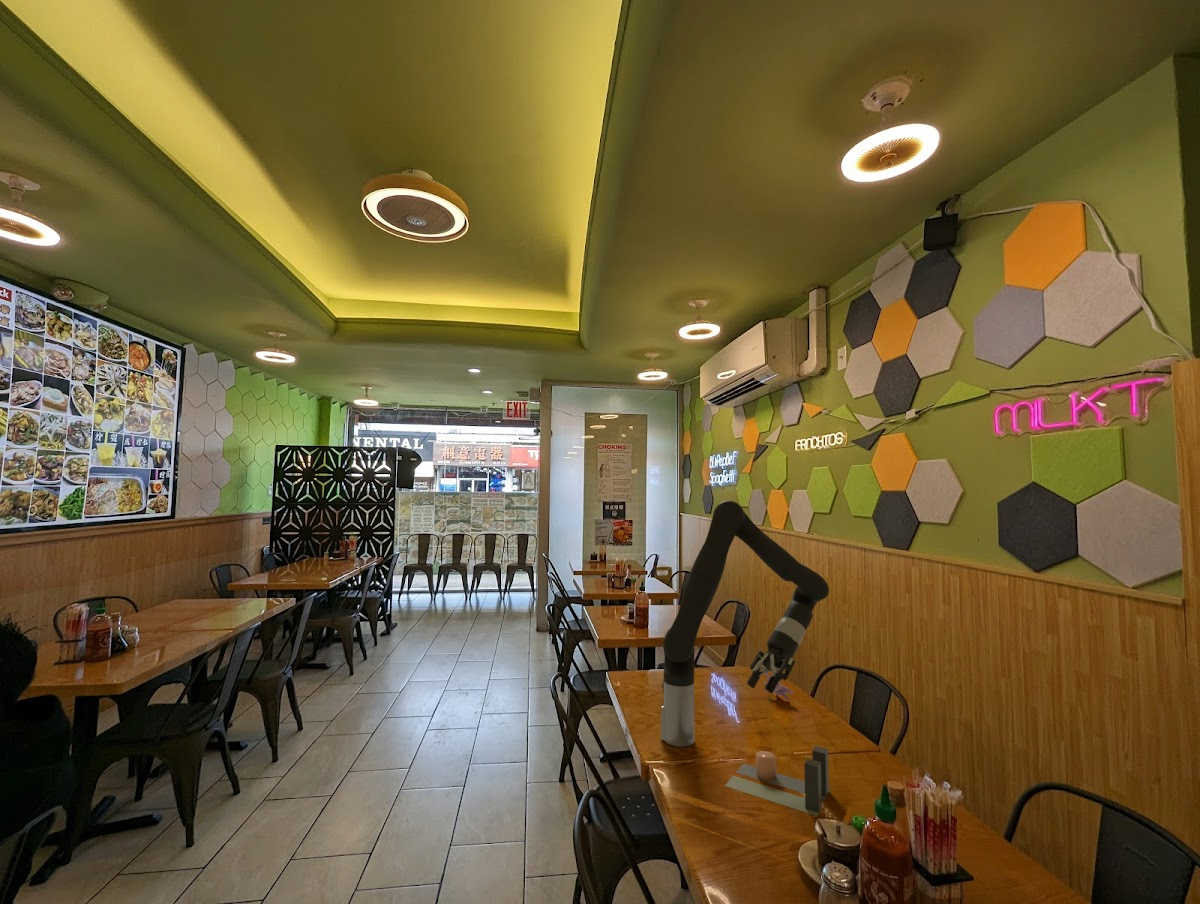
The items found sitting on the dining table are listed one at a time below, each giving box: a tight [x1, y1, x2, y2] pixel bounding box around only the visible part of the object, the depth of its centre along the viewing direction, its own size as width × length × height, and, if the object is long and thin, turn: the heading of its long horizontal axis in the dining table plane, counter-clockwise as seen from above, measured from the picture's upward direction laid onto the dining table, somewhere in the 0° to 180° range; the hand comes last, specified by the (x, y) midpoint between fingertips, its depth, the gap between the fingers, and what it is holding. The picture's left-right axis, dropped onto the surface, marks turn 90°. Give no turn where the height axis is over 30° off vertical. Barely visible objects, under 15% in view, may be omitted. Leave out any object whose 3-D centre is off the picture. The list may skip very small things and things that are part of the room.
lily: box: [762, 673, 794, 704], centre depth 195 cm, size 12×12×10 cm
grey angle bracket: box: [724, 757, 824, 817], centre depth 130 cm, size 22×6×11 cm, turn 56°
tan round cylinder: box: [755, 750, 777, 781], centre depth 139 cm, size 5×5×5 cm
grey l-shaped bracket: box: [735, 745, 831, 801], centre depth 137 cm, size 22×6×11 cm, turn 56°
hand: (758, 688), depth 143 cm, fingers open, 8 cm apart
